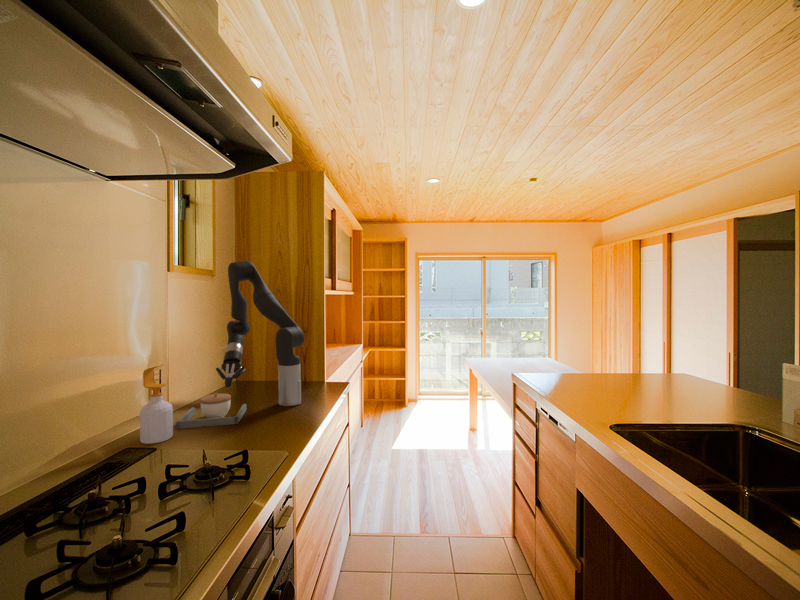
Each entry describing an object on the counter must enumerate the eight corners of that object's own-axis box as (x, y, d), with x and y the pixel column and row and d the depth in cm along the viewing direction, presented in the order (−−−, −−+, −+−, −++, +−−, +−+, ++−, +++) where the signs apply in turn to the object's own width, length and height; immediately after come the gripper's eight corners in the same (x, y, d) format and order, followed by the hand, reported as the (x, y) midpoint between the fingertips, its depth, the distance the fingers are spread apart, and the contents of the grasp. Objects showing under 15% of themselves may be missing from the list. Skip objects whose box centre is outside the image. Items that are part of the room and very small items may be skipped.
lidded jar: (218, 423, 134) (217, 397, 134) (193, 420, 137) (193, 396, 136) (237, 413, 145) (236, 390, 144) (214, 411, 147) (213, 388, 147)
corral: (246, 409, 149) (246, 403, 149) (237, 423, 133) (237, 417, 133) (191, 413, 145) (191, 407, 144) (176, 428, 128) (176, 421, 128)
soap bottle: (161, 444, 115) (160, 367, 115) (133, 444, 115) (131, 367, 115) (179, 433, 124) (178, 362, 124) (152, 433, 124) (151, 362, 124)
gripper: (216, 350, 168) (209, 382, 156) (247, 348, 171) (242, 380, 159) (220, 359, 173) (213, 391, 161) (249, 358, 176) (245, 389, 164)
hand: (227, 386), depth 160 cm, fingers closed
